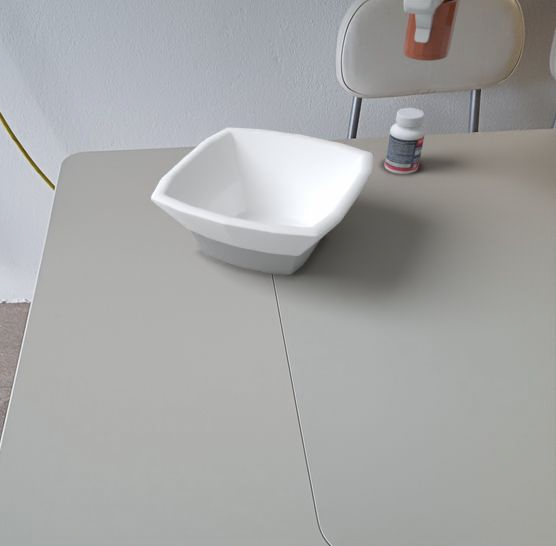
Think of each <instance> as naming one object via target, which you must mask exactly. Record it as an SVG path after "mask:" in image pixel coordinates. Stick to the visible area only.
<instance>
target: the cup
mask: <svg viewBox="0 0 556 546" xmlns="http://www.w3.org/2000/svg"><path fill="white" fill-rule="evenodd" d="M460 1H461V0H444V1H443V2H442V3H441V4H440V5H439V6H438V7H437V9H436V10H435V14H434V15H433V22H432V25H433V28H432V33H431V37H430V39H429V40H428V41H427V42H426V43H421V42H416V41H415V39H414V38H415V32H416V19H415V14H412V13H408V16H407V23H406V29H405V36H404V41H403V49H402V54H403V55H404V56H405V57H406V58H410V59H413V60H417V61H425V62H427V61H428V62H429V61H438V60H439V61H440V60H442V59H445V58H447V57H448V55H449V54H450V53H449V52H450V49H451V45H452V39H453V35H454V30H455V25H456V20H457V15H458V11H459V5H460Z"/></svg>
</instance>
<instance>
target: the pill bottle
mask: <svg viewBox="0 0 556 546" xmlns="http://www.w3.org/2000/svg"><path fill="white" fill-rule="evenodd" d="M424 119H425V112H424V111H423V110H421V109H420V108H419V109H418V108H415V107H404V108H403V107H402V108H400V109H398V110H397V112H396V115H395V123H394V124H392V125H391V127H390V129H389V135H388V141H387V148H386V154H385V160H384V168H385V169H386V170H387V171H389V172H392V173H395V174H401V175H408V174H412V173H414V172H416V171H417V170H418V169H419V165H420V160H421V155H422V150H423V145H424V140H425V134H426V130H425V127H424V126H423V123H424Z"/></svg>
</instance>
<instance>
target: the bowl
mask: <svg viewBox="0 0 556 546" xmlns="http://www.w3.org/2000/svg"><path fill="white" fill-rule="evenodd" d="M374 156H375V154H374V153H372V152H370V151H368V150H364V149H361V148H358V147H354V146H351V145H348V144H345V143H343V142H337V141H332V140H328V139H323V138H320V137H314V136H311V135H310V136H309V135H307V134H306V135H305V134H300V133H292V132H285V131H278V130H270V129H263V128H247V127H233V126H232V127H229V126H228V127H225V128H224V129H222V130H220V131H218V132H216V133H214V134H213V135H211V136H209V137H207V138H205V139H204V140H202V141H201V142H200V143H199V144H198V145H197V146H196V147H195V148H194V149H192V150H191V151H190V152H189V153H188V154H187V155H185V156H184V157H183V158H182V159H181V160H180V161H179V162H178V163H176V164H175V165H174V166H173V167H172V168H171V169H170V170H169V171H168V172H167V173H166V174H165V175H163V177H162V178H160V180H159V182H158V184H157V185H156V187H155V189H154V190H153V192H152V194H151V196H150V199H151V202H153V203H154V204H155V205H156V206H157V207H159V208H160V209H162V210H163V211H164V212H166V213H167V214H168V215H169V216H171V217H172V218H173V219H175V220H176V221H177V222H178V223H180V225H182V226H183V227H185V228H186V229H187V230H189V231H190V232H191V234H192V236H193V237H194V239H195V241H196V242H197V243H198V245H199V246H200V248H201V250H202V252H203V253H204V254H205V255H207V256H209V257H212V258H214V259H216V260H217V261H220V262H223V263H226V264H230V265H232V266H235V267H239V268H242V269H245V270H250V271H256V272H262V273H266V274H273V275H274V274H275V275H284V276H291V275H292V274H294V273H295V272H296V271H298V270H299V269H301V267H303V266H304V265H305V263H306V262H307V260H308V259H309V257H310V256H312V255H311V254H312V253H313V252H314V250H315V249H316V247H317V246H318V244H319V243H320V241H321V240H322V238H323V237H324V236H326V235H327V234H328V233H330V231H331V230H333V229H334V228H335V227H336V226H337V225H339V224H340V223H341V222H342V220H343V219H344V218H345V216H346V215H347V213H348V212H349V211H350V209H351V208H352V206H353V204H354V203H355V202H356V201H357V199H358V197H359V196H360V194H361V192H362V191H363V189H364V188H365V186H366V185H367V183H368V181H369V179H370V178H371V176H372V175H373V172H374V171H373V170H374Z"/></svg>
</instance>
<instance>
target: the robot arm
mask: <svg viewBox="0 0 556 546" xmlns="http://www.w3.org/2000/svg"><path fill="white" fill-rule="evenodd" d="M443 1H444V0H403V11H404V12H405V13H407V14H409V13H412V14H415V19H416V32H415V38H414V39H415V41H416V42H421V43H426V42H427V41H428V40H429V39H430V37H431V33H432V28H433V25H432V22H433V15H434V14H435V10H436V9H437V7H438V6H439V5H440V4H441V3H442V2H443Z"/></svg>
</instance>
